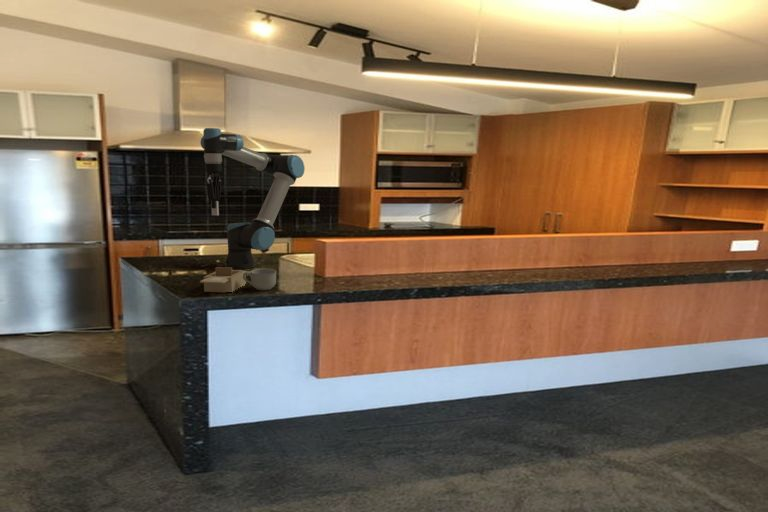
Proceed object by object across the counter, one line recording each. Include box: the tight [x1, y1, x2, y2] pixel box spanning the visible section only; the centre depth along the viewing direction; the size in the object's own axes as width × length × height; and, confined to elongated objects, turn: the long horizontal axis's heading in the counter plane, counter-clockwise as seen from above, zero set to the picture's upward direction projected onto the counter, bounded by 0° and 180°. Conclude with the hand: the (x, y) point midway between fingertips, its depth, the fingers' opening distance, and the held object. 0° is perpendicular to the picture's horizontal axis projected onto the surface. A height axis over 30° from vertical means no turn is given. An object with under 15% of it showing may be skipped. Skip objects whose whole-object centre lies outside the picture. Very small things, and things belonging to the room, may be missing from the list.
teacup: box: [243, 268, 277, 291], centre depth 226 cm, size 14×11×8 cm
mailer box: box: [203, 269, 247, 293], centre depth 227 cm, size 16×12×6 cm
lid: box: [199, 266, 233, 284], centre depth 219 cm, size 14×10×4 cm
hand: (215, 215), depth 242 cm, fingers closed
